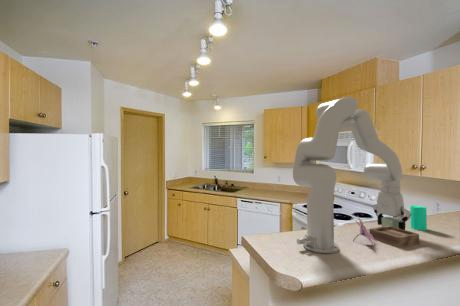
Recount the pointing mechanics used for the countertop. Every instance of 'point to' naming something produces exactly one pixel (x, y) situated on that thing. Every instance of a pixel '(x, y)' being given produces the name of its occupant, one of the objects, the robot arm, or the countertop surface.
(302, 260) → the countertop surface
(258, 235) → the countertop surface
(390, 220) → the sage block
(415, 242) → the base block
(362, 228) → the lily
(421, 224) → the candle
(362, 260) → the countertop surface
